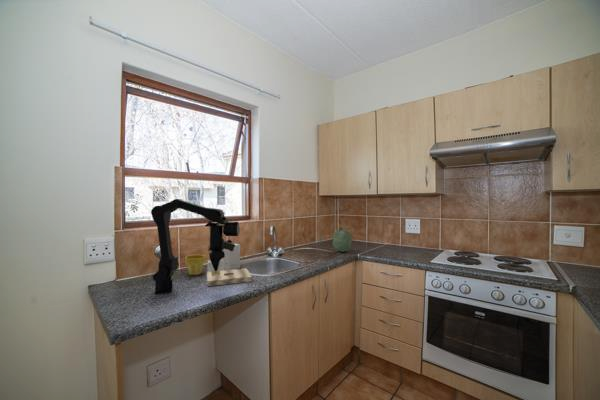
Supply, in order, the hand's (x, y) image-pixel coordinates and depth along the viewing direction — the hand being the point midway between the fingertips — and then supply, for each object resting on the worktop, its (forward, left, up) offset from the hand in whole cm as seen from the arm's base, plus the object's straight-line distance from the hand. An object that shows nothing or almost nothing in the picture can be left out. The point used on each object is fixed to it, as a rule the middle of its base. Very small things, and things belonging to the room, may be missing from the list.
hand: (215, 269), depth 113 cm
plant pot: (-9, +32, -10) cm, 35 cm away
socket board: (+8, +16, -10) cm, 21 cm away
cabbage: (+105, +56, -10) cm, 119 cm away
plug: (0, 0, -3) cm, 3 cm away
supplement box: (+11, +36, -10) cm, 39 cm away
